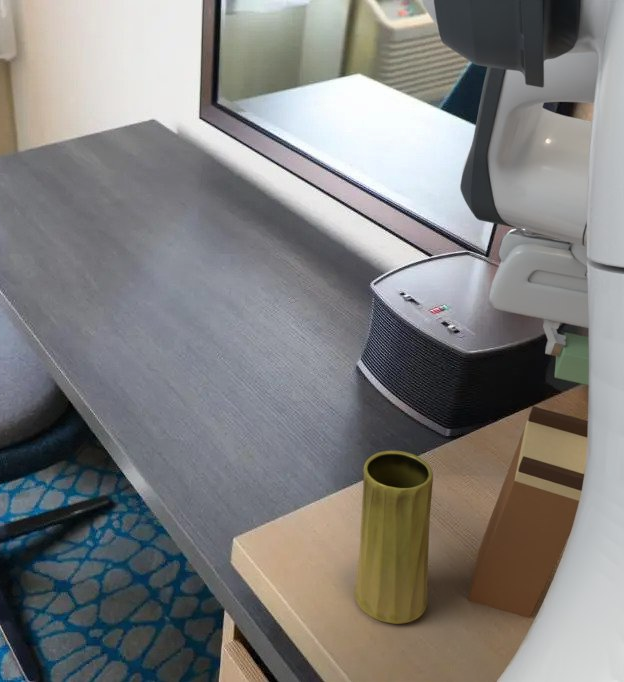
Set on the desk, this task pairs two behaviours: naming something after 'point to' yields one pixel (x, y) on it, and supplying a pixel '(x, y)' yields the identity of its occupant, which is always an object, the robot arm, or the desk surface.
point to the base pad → (532, 513)
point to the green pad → (574, 360)
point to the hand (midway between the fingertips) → (582, 358)
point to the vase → (394, 537)
